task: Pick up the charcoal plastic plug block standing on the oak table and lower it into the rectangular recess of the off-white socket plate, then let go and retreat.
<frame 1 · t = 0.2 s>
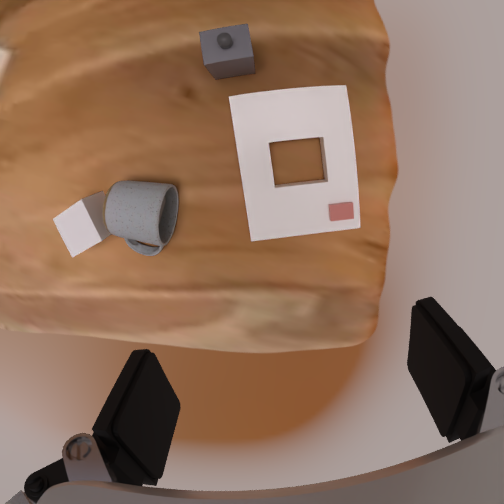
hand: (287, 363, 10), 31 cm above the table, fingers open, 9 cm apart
light grey cube: (97, 217, 40), on the table
socket plate: (296, 160, 37), on the table
ceramic mug: (152, 214, 40), on the table
plug: (233, 62, 32), on the table
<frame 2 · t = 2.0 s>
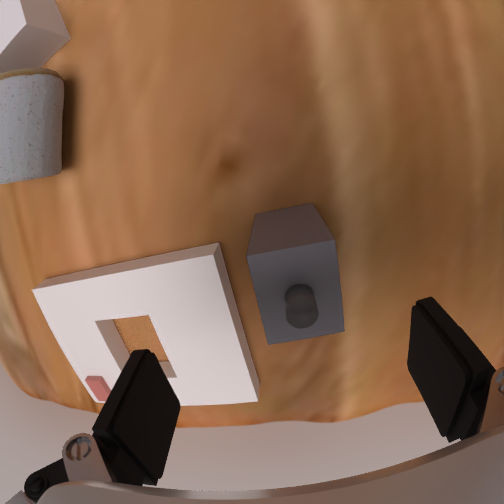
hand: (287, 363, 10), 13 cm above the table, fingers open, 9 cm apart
light grey cube: (41, 41, 17), on the table
socket plate: (144, 334, 25), on the table
ceramic mug: (38, 131, 20), on the table
plug: (290, 242, 22), on the table
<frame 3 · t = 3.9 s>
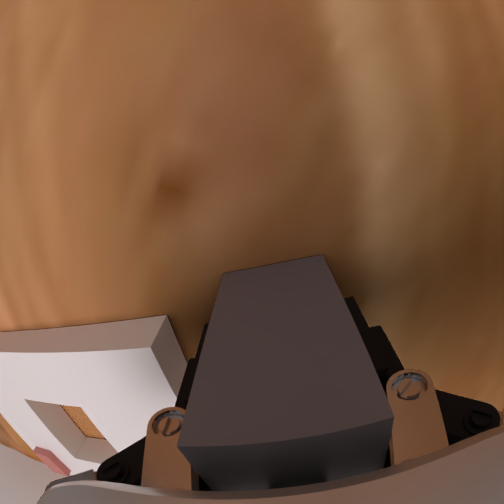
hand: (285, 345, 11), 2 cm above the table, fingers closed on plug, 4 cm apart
socket plate: (89, 412, 16), on the table
plug: (283, 316, 13), on the table, touching gripper
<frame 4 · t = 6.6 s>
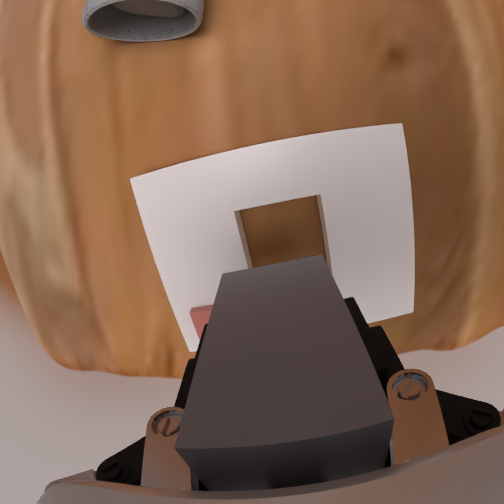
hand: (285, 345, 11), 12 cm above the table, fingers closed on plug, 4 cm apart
socket plate: (285, 239, 22), on the table
ceramic mug: (151, 4, 16), on the table
plug: (282, 317, 13), point 10 cm above the table, touching gripper
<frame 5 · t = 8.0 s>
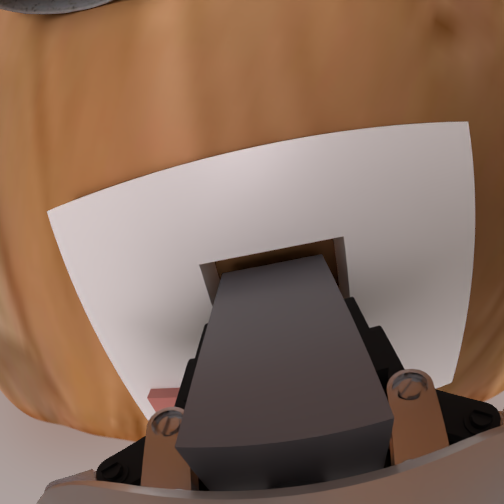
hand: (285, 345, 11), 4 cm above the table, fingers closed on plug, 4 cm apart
socket plate: (282, 295, 14), on the table
plug: (282, 316, 13), point 2 cm above the table, touching gripper
when the fingers open (3 cm above the table, at t = 9.1 s): plug drops 1 cm, resting in socket plate.
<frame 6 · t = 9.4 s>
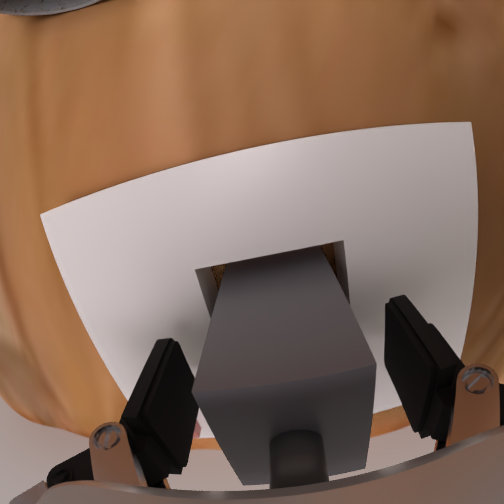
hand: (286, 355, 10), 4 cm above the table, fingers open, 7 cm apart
socket plate: (281, 300, 14), on the table
plug: (282, 298, 14), resting in socket plate
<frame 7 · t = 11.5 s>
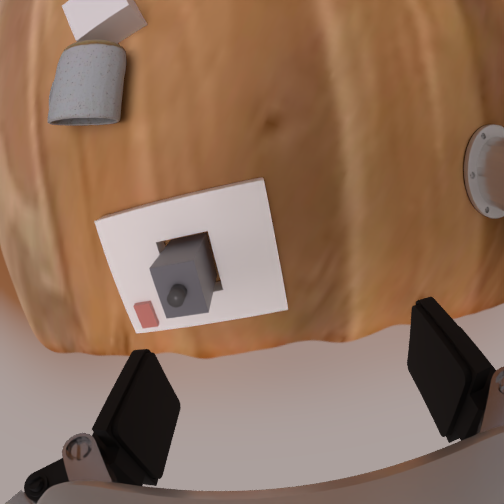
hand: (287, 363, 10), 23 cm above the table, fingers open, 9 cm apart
light grey cube: (116, 22, 24), on the table
socket plate: (193, 258, 33), on the table
ceramic mug: (94, 93, 27), on the table
plug: (194, 257, 33), resting in socket plate
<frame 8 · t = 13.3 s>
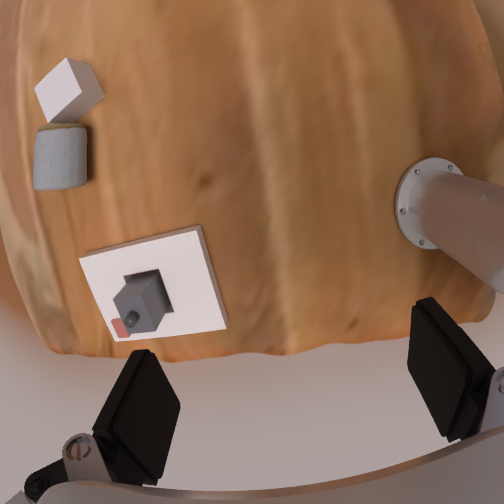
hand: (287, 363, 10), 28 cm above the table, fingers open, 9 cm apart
light grey cube: (82, 93, 32), on the table
socket plate: (154, 286, 41), on the table
ceramic mug: (68, 156, 35), on the table
plug: (154, 285, 41), resting in socket plate
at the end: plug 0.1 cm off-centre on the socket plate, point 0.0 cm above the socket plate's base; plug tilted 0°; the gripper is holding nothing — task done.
